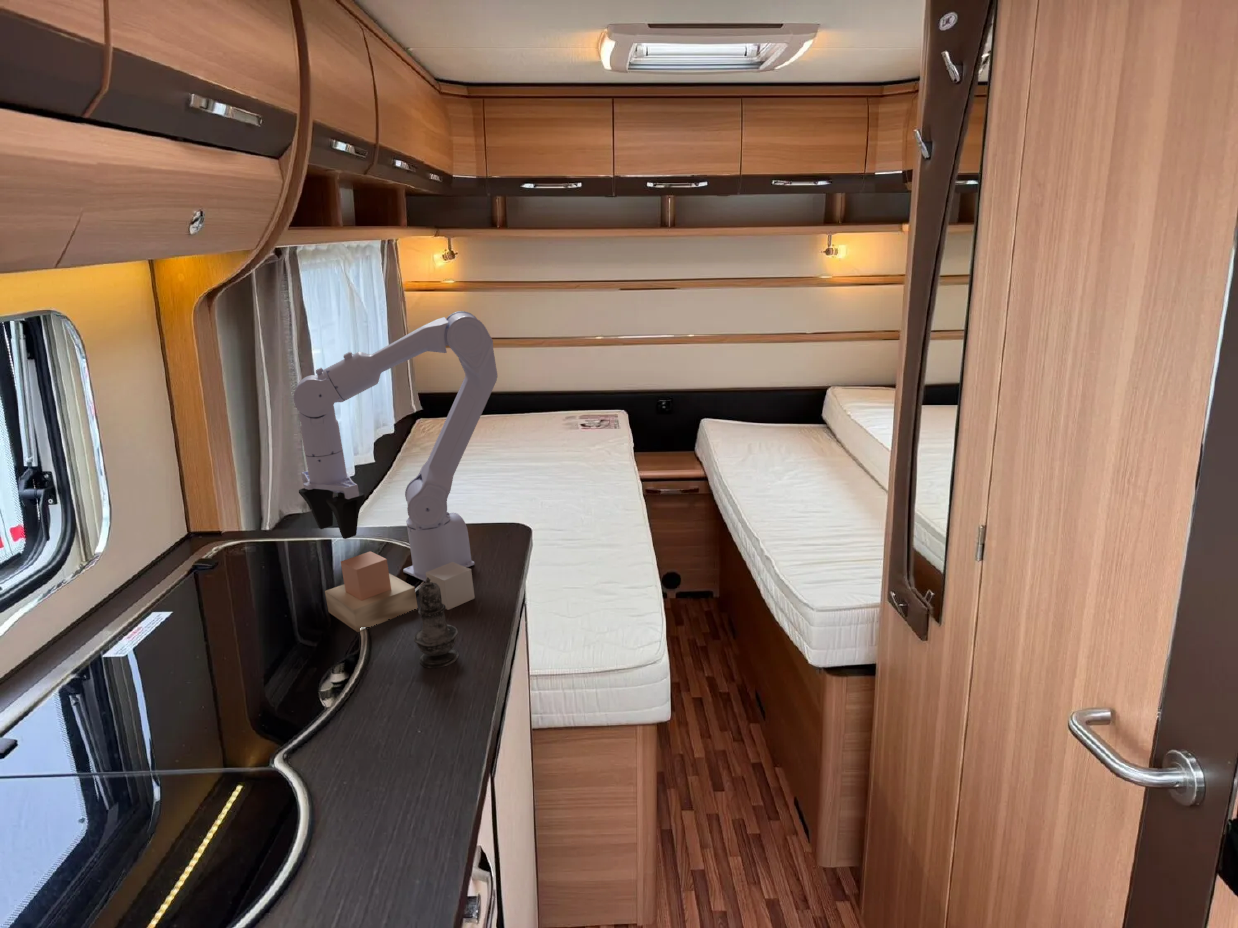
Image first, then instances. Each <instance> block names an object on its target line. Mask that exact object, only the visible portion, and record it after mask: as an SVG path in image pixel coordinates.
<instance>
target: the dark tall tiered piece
mask: <svg viewBox="0 0 1238 928" xmlns="http://www.w3.org/2000/svg"><path fill="white" fill-rule="evenodd" d="M425 581H426V582H425ZM425 581H424V582H425V583H423V584H422V585H421V586H419V588H418V596H419V598H418V599H419V603H420V608H418V614H419V615H420V616H421V621H422V629H420V630H418V631H417V632H416V633H415V634H414V635H413V641H414V643H415V644H416V646H417V648H418V649H419V650H420V652H421V653H423V654H422V655H421V656H420V658H419V664H420V666H422V667H424V668H427V669H440V668H444V667H447V666H449V665H452V664H453V663H455V662H456V661H457V660H458V658H459V657H460V655H459V651H458V650H456V648H455V649H454V647H455V644H456V642H457V636H458V633H459V632H458V628H456V626H455V625H451V624H448V623H447V622H446V615H445V610H447V609H446V606H445V605H444V604H442V598H441V591H440V587H439V585H438V584H436V583H433V582H430V579H429V578H428V577H427V579H426V580H425Z"/></svg>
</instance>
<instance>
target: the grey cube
mask: <svg viewBox="0 0 1238 928" xmlns="http://www.w3.org/2000/svg"><path fill="white" fill-rule="evenodd" d="M472 574H473V573H472V568H469V567H467V568H466V567H464V566H461V565H459V564H456V563H454V562H451V563H448V564H446V565H443V566H441V567H438V568H436V569H433V570H431V571H428V572H426V578H427V577H428V578H429V579H430V582H433V583H436V584H438V585H439V587H440V591H441V598H442V604H444V605H445V606H446V609H445V610H452V609H453V608H454V609H455V607H458V606H460V605H463V604H464V603H465V604H466V603H467V602H469V601H471V600H474V599H475V589H474V583H473V582H474V581H473V575H472Z"/></svg>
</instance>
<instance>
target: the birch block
mask: <svg viewBox="0 0 1238 928" xmlns="http://www.w3.org/2000/svg"><path fill="white" fill-rule="evenodd" d="M389 577H390V584H391V590H388V591H386V592H383V593H380V594H378V595H375V596H373V597H370V598H367V599H365V600H362V601H361V600H359V599H358V598H356V597H354V596H352V595H351V594H349V593H347V592H346V591H345V585H344V584H340V585H338V586H335V587H333V588H329V589H327V590H324V594H325V599H326V604H327V610H328V613H329V614H331V615H332V616H333V617H335V618H336V619H338V620H339V621H340V622H341V623H343V624H345V625H346V626H348V627H349V628H351V629H352V630H354V631H355V632H356V633H359V632H361V631H360V628H361V627H370V628H372V627H375V626H377V625H380V624H382V623H385V622H387V621H389V620H388V619H390V620H393V619H395V618H397V616H398V617H400V616H402V614H403V615H405V614H408V613H410V612H409V611H411V610H413V611H415V610H414V609H416V610H418V609H419V607H418V601H417V594H416V587H415V586H414V585H411V584H409V583H407V582H406V581H404V580H402V579H401V578H399V577H397V576H396V575H393V574H392V573H389ZM417 608H418V609H417ZM407 612H408V613H407ZM411 612H412V611H411ZM404 613H405V614H404ZM399 615H400V616H399ZM376 624H377V625H376ZM374 625H375V626H374ZM371 626H372V627H371Z"/></svg>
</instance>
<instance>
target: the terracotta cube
mask: <svg viewBox="0 0 1238 928" xmlns="http://www.w3.org/2000/svg"><path fill="white" fill-rule="evenodd" d="M340 566H341V573H342V578H343V583H344V585H345V591H346V592H347V593H349V594H351V595H352V596H354V597H356V598H358V599H359V600H361V601H362V600H365V599H367V598H370V597H373V596H375V595H378V594H380V593H383V592H386V591H388V590H391V584H390V577H389V572H390V571H389V565H388V559H387V558H385V557H383V556H381V555H379V554H377V553H375V552H372V551H371V550H370V551H367V552H365V553H362V554H359V555H356V556H355V555H354V556H353V557H350V558H347V559H344V560H341V561H340Z"/></svg>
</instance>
